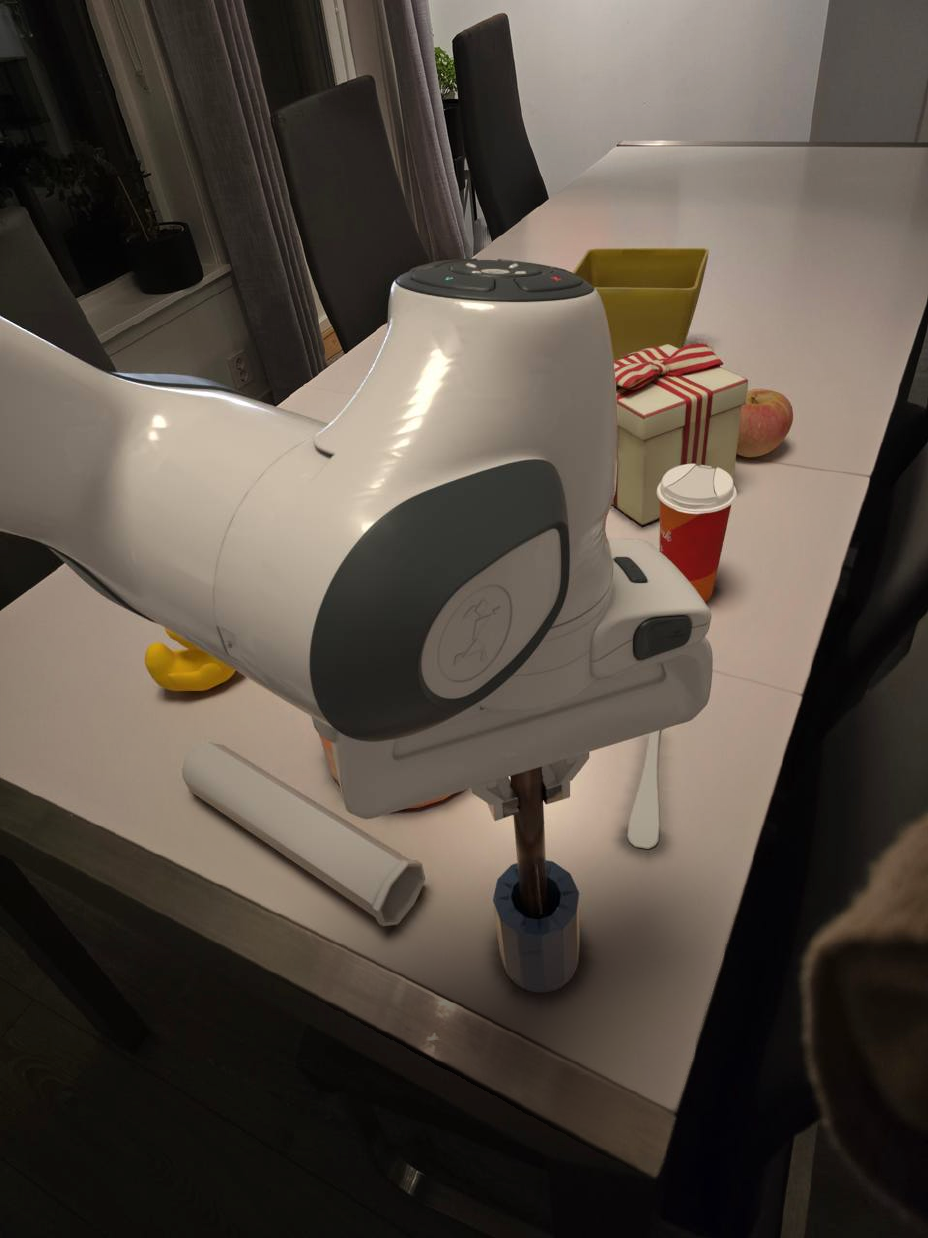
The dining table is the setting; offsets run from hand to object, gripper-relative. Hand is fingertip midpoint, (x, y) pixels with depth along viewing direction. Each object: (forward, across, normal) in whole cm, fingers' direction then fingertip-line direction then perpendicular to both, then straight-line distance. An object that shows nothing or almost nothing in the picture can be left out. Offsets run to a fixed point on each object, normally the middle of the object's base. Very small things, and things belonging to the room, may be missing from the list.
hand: (528, 800), depth 47 cm
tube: (+19, -16, +17) cm, 30 cm away
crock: (+18, 0, 0) cm, 19 cm away
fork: (+18, +17, +14) cm, 29 cm away
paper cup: (+18, +30, +33) cm, 48 cm away
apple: (+18, +53, +56) cm, 80 cm away
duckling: (+19, -21, +40) cm, 49 cm away
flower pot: (+18, +50, +87) cm, 102 cm away
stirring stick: (+12, 0, 0) cm, 12 cm away
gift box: (+18, +36, +56) cm, 69 cm away
